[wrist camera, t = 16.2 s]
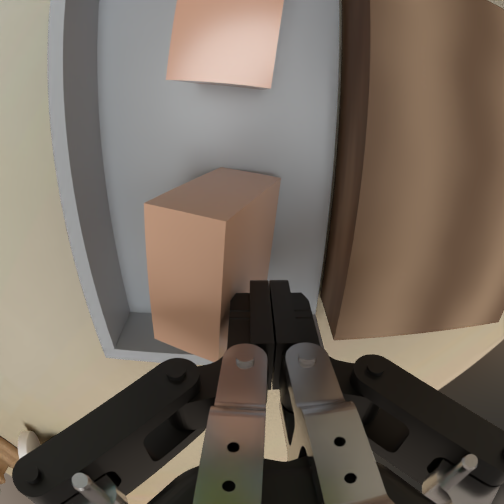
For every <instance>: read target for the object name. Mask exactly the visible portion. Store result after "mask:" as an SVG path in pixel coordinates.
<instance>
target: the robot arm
mask: <svg viewBox="0 0 504 504" xmlns="http://www.w3.org/2000/svg"><path fill="white" fill-rule="evenodd" d="M271 382H272V386H273V389H280V405H279V408H280V414H281V419H282V424H283V430H284V435H285V441H286V446H287V455H288V458H287V462H280V461H275V460H269V459H264V440H265V419H266V403H267V392H268V390H271ZM205 429H206V432H205V437H204V443H203V448H202V454H201V459H200V465H199V466H197V467H195V468H192V469H190V470H188V471H186V472H184V473H182V474H181V475H180V476H178V477H177V478H175V479H174V480H173V481H172V482H171V483H170V484H169V485H167V486H166V487H165V488H164V489H163V490H162V491H161V492H160V493H159V494H157V495H156V496H155V497H154V498H153V499H152V500H151V501H149V502H148V503H147V504H491V502H492V501H493V499H494V497H495V494H496V492H497V491H498V489H499V487H500V486H501V485H502V484H503V483H504V431H503V430H502V429H500V428H498V427H497V426H495V425H493V424H492V423H490V422H488V421H487V420H485V419H483V418H482V417H480V416H478V415H477V414H475V413H473V412H472V411H470V410H468V409H467V408H465V407H464V406H462V405H460V404H458V403H457V402H455V401H454V400H452V399H450V398H449V397H447V396H446V395H444V394H442V393H441V392H439V391H437V390H436V389H434V388H433V387H431V386H429V385H428V384H426V383H424V382H423V381H421V380H420V379H418V378H416V377H415V376H413V375H412V374H410V373H408V372H407V371H405V370H404V369H402V368H400V367H399V366H397V365H396V364H394V363H392V362H391V361H389V360H388V359H386V358H384V357H382V356H379V355H365V356H362V357H360V358H359V359H358V360H357V361H356V362H355V364H354V363H348V362H343V361H338V360H335V359H333V358H331V357H329V356H328V353H327V352H326V351H325V350H324V349H323V348H322V347H321V346H320V342H319V338H318V334H317V330H316V326H315V322H314V319H313V314H312V311H311V307H310V303H309V300H308V299H307V298H306V297H305V296H304V295H303V294H302V292H299V293H291V291H290V286H289V281H288V280H269V283H268V280H250V293H236V294H235V295H234V296H233V298H232V299H231V300H230V312H229V326H228V341H227V350H226V352H225V353H224V355H223V356H222V357H221V358H220V359H219V360H217V361H216V362H213V363H211V364H207V365H203V366H198V367H197V366H196V364H195V363H193V362H192V361H190V360H188V359H184V358H172V359H168V360H166V361H164V362H162V363H161V364H159V365H158V366H156V367H155V368H154V369H152V370H151V371H149V372H148V373H146V374H145V375H144V376H142V377H141V378H139V379H138V380H137V381H135V382H134V383H132V384H131V385H129V386H128V387H127V388H125V389H124V390H122V391H121V392H119V393H118V394H116V395H115V396H114V397H112V398H111V399H109V400H108V401H106V402H105V403H103V404H102V405H100V406H99V407H97V408H96V409H95V410H93V411H92V412H90V413H89V414H87V415H86V416H84V417H83V418H81V419H80V420H78V421H77V422H75V423H74V424H72V425H71V426H69V427H68V428H66V429H65V430H63V431H62V432H60V433H59V434H57V435H56V436H54V437H52V438H51V439H49V440H48V441H46V442H45V443H43V444H42V445H40V446H39V447H37V448H35V449H34V450H32V451H31V452H29V453H28V454H26V455H24V456H23V457H21V458H20V459H19V460H18V461H17V462H16V464H15V466H14V468H13V473H12V478H13V482H14V484H15V486H16V488H17V489H18V490H19V491H20V492H21V493H22V494H23V495H25V496H26V497H28V498H29V499H31V500H32V501H33V502H34V503H35V504H128V500H127V498H126V495H127V494H129V493H130V492H131V491H133V490H134V489H135V488H137V487H138V486H139V485H140V484H142V483H143V482H144V481H146V480H147V479H148V478H149V477H151V476H152V475H153V474H154V473H156V472H157V471H158V470H159V469H160V468H162V467H163V466H164V465H165V464H166V463H168V462H169V461H170V460H171V459H172V458H174V457H175V456H176V455H177V454H178V453H180V452H181V451H182V450H183V449H184V448H185V447H187V446H188V445H189V444H190V443H191V442H192V441H193V440H195V439H196V438H197V437H198V436H199V435H200V434H201V433H202V432H203V431H204V430H205ZM372 451H374V452H375V453H376V454H378V455H379V456H381V457H382V458H384V459H385V460H386V461H388V462H389V463H391V464H392V465H393V466H395V467H396V468H398V469H399V470H401V471H402V472H404V473H405V474H407V475H408V476H410V477H411V478H412V479H414V480H415V481H417V482H419V483H420V484H421V485H422V492H423V494H422V493H420V492H419V491H418V490H417V489H415V488H414V487H412V486H411V485H410V484H408V483H407V482H406V481H404V480H403V479H402V478H400V477H399V476H398V475H396V474H395V473H393V472H392V471H391V470H389V469H388V468H387V467H385V466H384V465H382V464H380V463H378V462H376V461H375V458H374V456H373V453H372Z"/></svg>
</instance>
